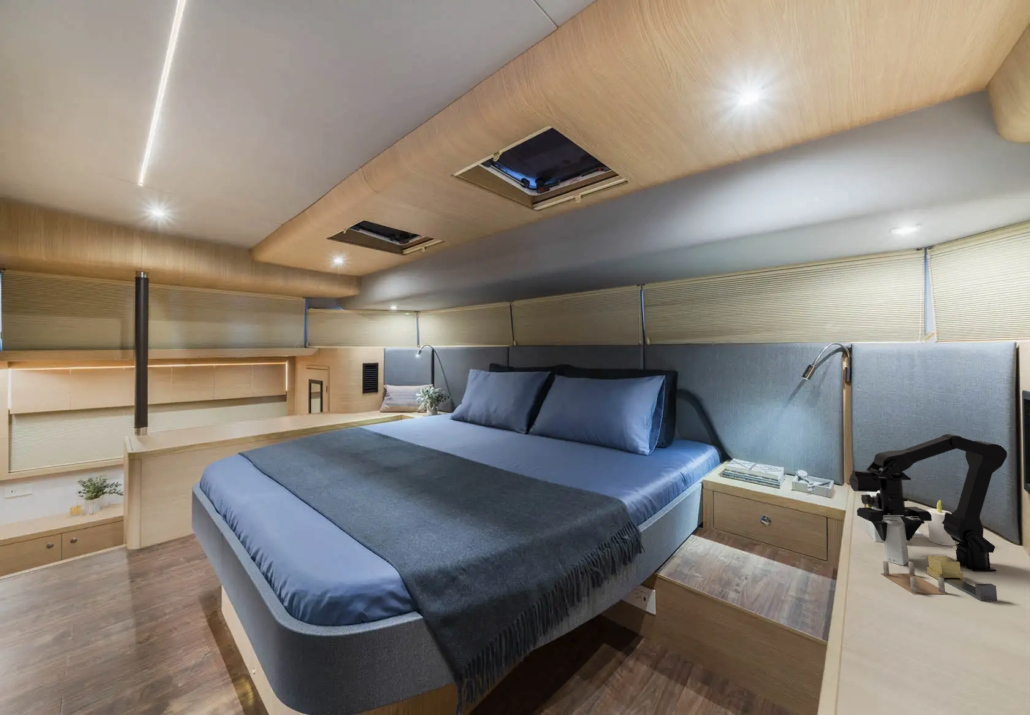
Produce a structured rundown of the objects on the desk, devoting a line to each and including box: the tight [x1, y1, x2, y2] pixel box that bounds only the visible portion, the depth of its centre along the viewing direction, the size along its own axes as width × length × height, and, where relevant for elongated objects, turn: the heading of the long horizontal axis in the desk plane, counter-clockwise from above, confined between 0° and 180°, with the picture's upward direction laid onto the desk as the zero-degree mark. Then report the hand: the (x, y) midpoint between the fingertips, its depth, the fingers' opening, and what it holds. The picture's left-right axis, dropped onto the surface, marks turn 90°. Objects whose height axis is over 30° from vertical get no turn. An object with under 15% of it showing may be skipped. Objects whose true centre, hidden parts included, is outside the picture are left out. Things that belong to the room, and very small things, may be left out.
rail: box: [944, 578, 998, 602], centre depth 113 cm, size 4×14×4 cm, turn 175°
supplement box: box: [862, 491, 909, 546], centre depth 145 cm, size 10×9×17 cm
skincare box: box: [884, 520, 910, 566], centre depth 129 cm, size 6×4×12 cm
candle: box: [926, 499, 956, 547], centre depth 141 cm, size 6×6×15 cm
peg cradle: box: [880, 560, 950, 595], centre depth 116 cm, size 9×11×4 cm
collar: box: [926, 555, 964, 581], centre depth 118 cm, size 6×4×5 cm, turn 85°
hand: (895, 540), depth 129 cm, fingers closed on skincare box, 7 cm apart
